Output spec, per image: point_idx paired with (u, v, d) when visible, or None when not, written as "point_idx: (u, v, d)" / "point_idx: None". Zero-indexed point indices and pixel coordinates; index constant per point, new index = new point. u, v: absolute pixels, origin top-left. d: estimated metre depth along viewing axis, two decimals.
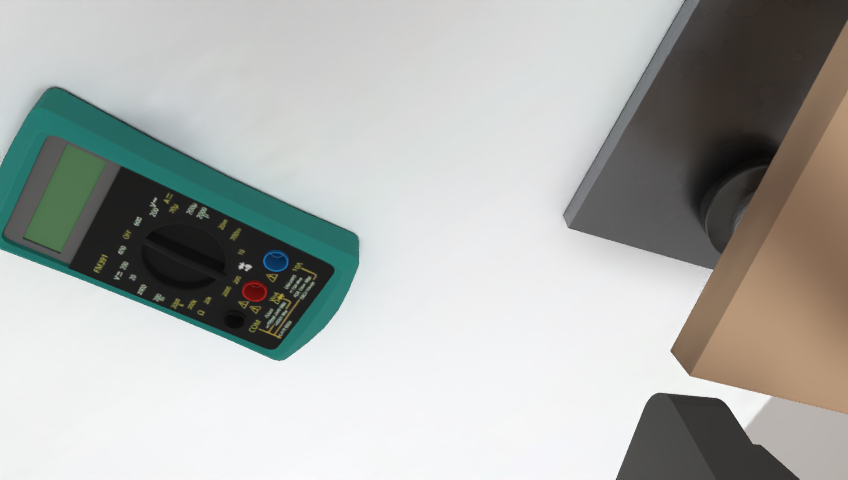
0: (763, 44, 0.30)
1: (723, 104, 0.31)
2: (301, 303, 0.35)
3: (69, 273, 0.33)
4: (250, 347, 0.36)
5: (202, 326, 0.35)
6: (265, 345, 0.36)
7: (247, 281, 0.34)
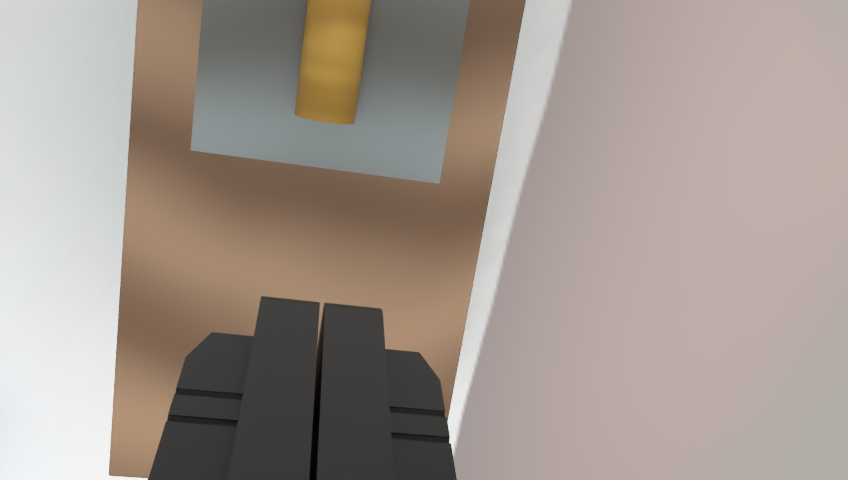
0: None
1: None
2: None
3: None
4: None
5: None
6: None
7: None
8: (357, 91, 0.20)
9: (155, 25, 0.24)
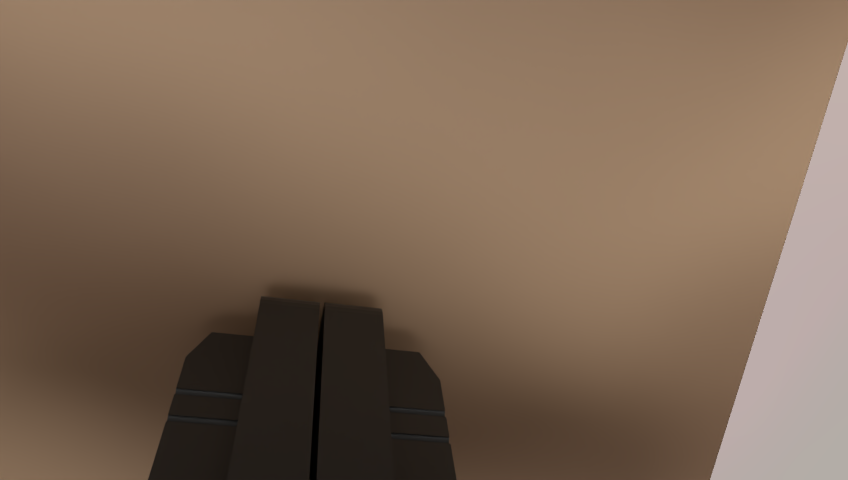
0: None
1: None
2: None
3: None
4: None
5: None
6: None
7: None
8: None
9: None
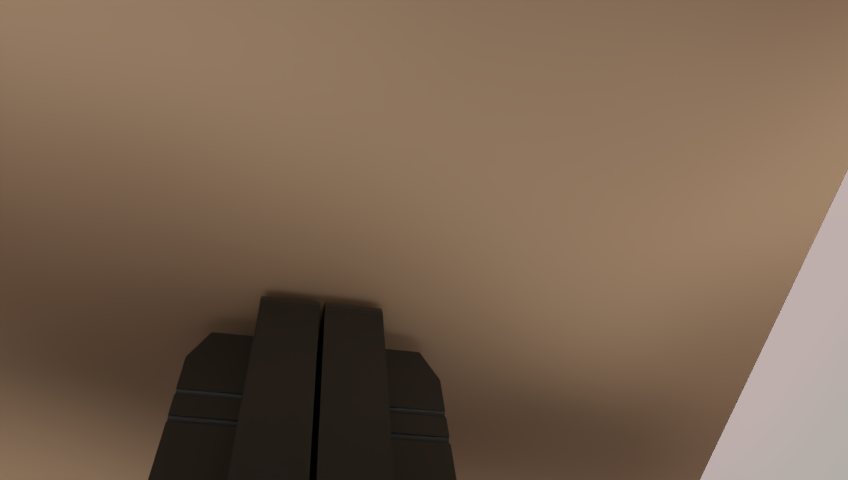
0: None
1: None
2: None
3: None
4: None
5: None
6: None
7: None
8: None
9: None
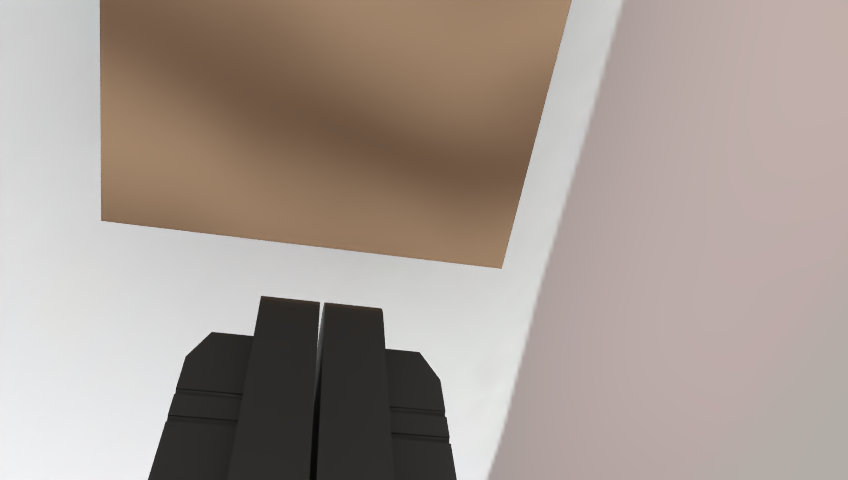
0: None
1: None
2: None
3: None
4: None
5: None
6: None
7: None
8: None
9: None
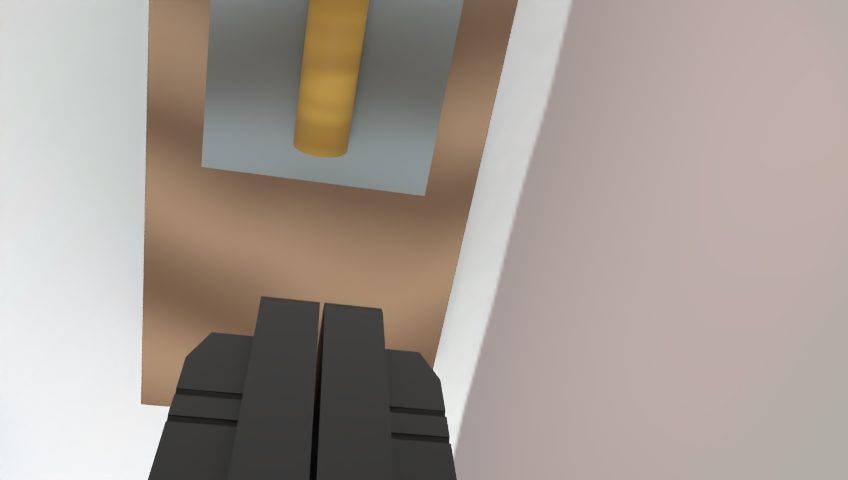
0: None
1: None
2: None
3: None
4: None
5: None
6: None
7: None
8: (349, 126, 0.23)
9: (166, 29, 0.26)
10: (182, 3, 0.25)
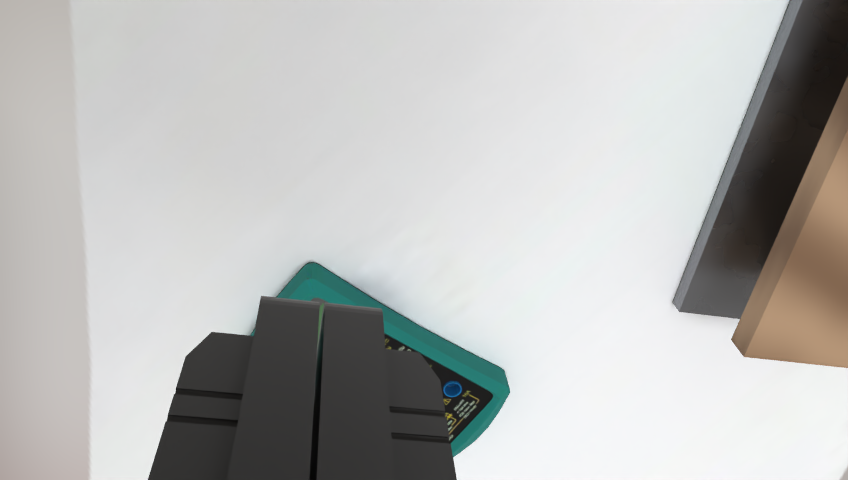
0: (801, 157, 0.41)
1: (780, 203, 0.42)
2: (464, 421, 0.46)
3: None
4: None
5: None
6: None
7: None
8: None
9: None
10: None
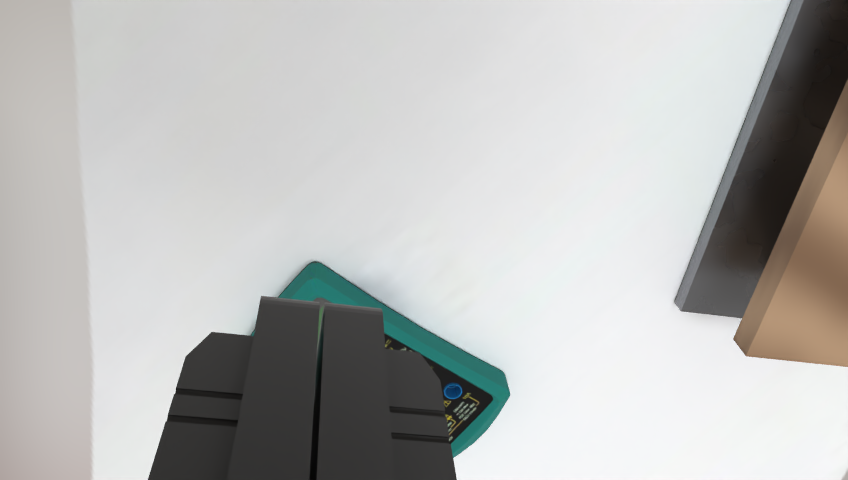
0: (803, 156, 0.41)
1: (782, 202, 0.42)
2: (463, 423, 0.46)
3: None
4: None
5: None
6: None
7: None
8: None
9: None
10: None
